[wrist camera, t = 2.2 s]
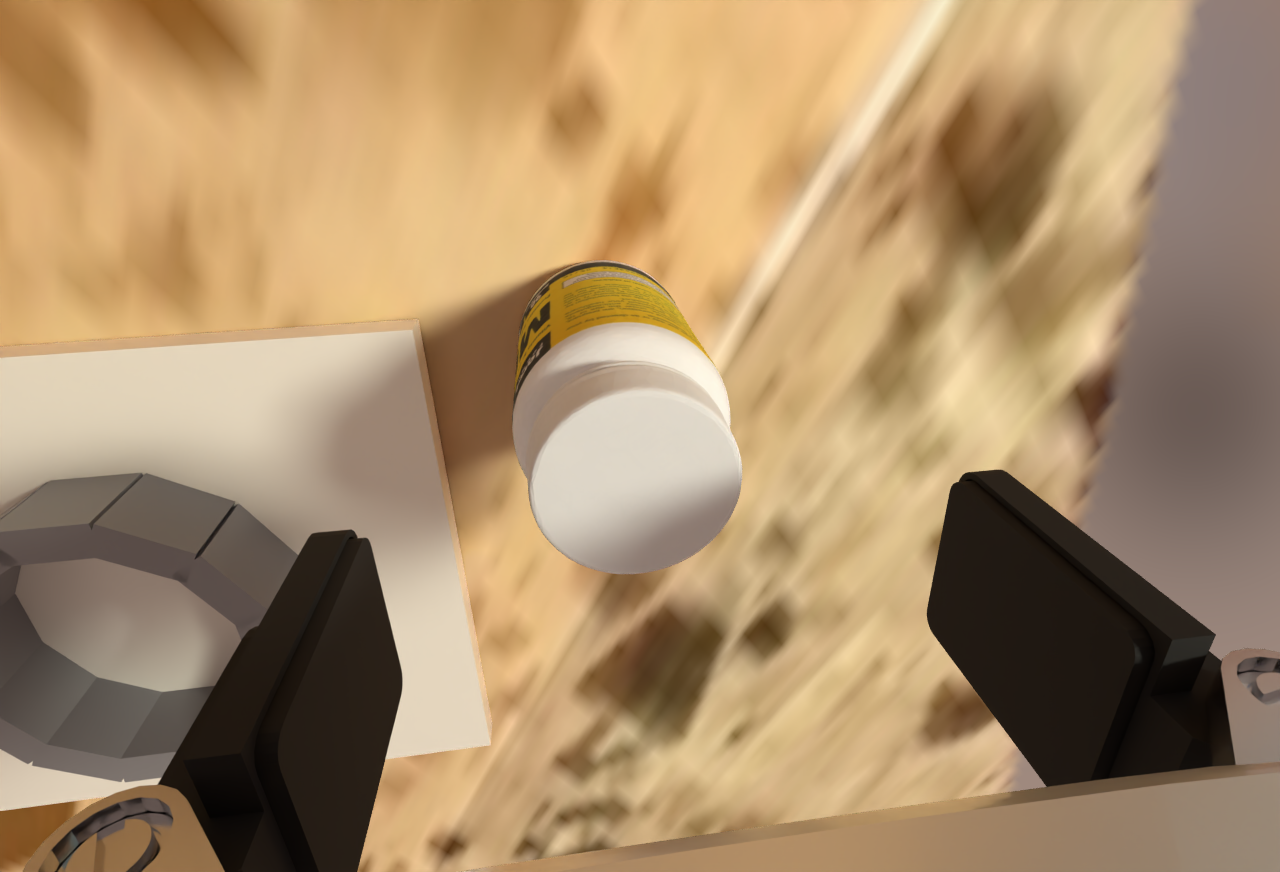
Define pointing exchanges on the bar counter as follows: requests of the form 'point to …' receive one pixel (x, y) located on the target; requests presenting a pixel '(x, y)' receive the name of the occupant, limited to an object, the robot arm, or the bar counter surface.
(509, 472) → the bar counter surface
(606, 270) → the supplement bottle
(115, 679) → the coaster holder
